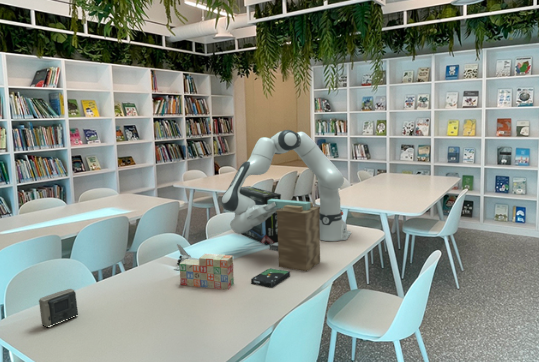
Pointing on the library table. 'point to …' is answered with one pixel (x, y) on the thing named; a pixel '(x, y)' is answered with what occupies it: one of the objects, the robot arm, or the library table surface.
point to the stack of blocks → (208, 271)
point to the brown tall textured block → (298, 237)
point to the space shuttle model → (185, 256)
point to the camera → (58, 307)
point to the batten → (289, 203)
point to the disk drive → (270, 277)
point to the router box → (269, 227)
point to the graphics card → (273, 246)
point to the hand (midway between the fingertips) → (278, 202)
